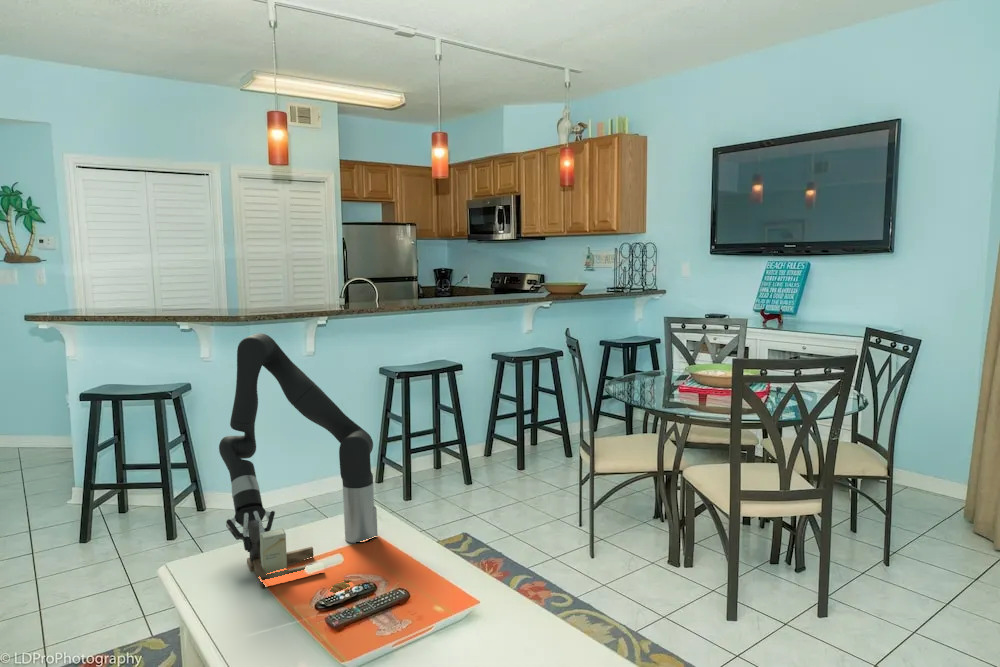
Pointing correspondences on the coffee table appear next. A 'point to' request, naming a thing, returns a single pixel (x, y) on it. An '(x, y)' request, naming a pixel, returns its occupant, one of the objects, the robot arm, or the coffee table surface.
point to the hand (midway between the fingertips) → (256, 549)
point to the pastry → (340, 586)
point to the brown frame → (255, 555)
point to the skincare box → (273, 550)
